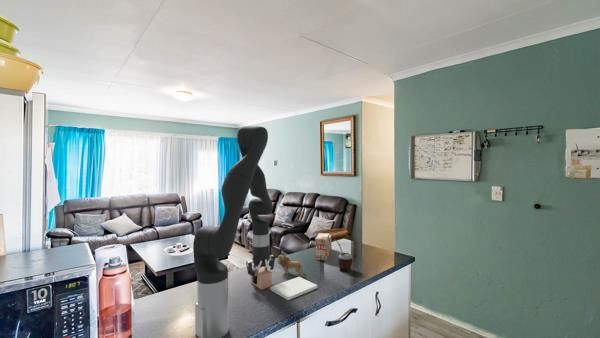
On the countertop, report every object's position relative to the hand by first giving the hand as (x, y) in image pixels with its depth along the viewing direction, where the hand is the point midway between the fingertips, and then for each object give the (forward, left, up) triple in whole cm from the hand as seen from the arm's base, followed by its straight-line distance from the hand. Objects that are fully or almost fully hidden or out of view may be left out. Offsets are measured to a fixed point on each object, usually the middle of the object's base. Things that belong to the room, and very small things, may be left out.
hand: (261, 281), depth 118 cm
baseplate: (+8, -13, -1) cm, 15 cm away
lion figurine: (+17, 0, -1) cm, 17 cm away
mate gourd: (+40, -14, -1) cm, 42 cm away
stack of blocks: (+50, +10, -2) cm, 51 cm away
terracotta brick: (0, 0, -1) cm, 1 cm away
